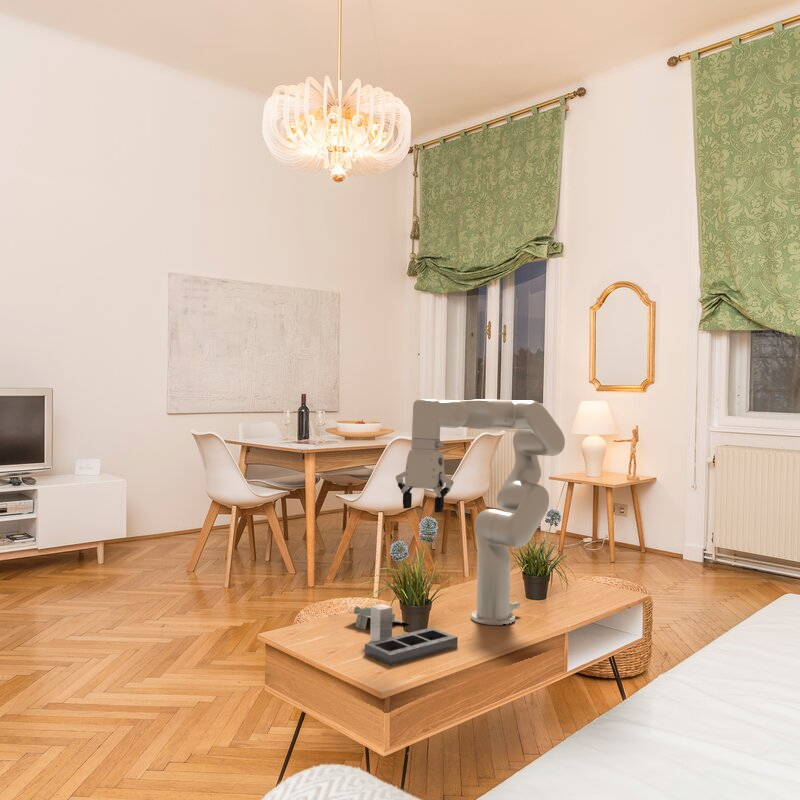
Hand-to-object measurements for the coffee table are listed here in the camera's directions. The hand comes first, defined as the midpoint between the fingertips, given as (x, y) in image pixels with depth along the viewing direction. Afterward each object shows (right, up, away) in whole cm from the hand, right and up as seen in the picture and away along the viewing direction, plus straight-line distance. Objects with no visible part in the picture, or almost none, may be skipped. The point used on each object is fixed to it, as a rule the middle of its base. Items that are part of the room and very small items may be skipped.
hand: (422, 510), depth 192 cm
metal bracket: (-13, -34, +11) cm, 38 cm away
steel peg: (-11, -33, -5) cm, 35 cm away
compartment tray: (-3, -34, -11) cm, 35 cm away
